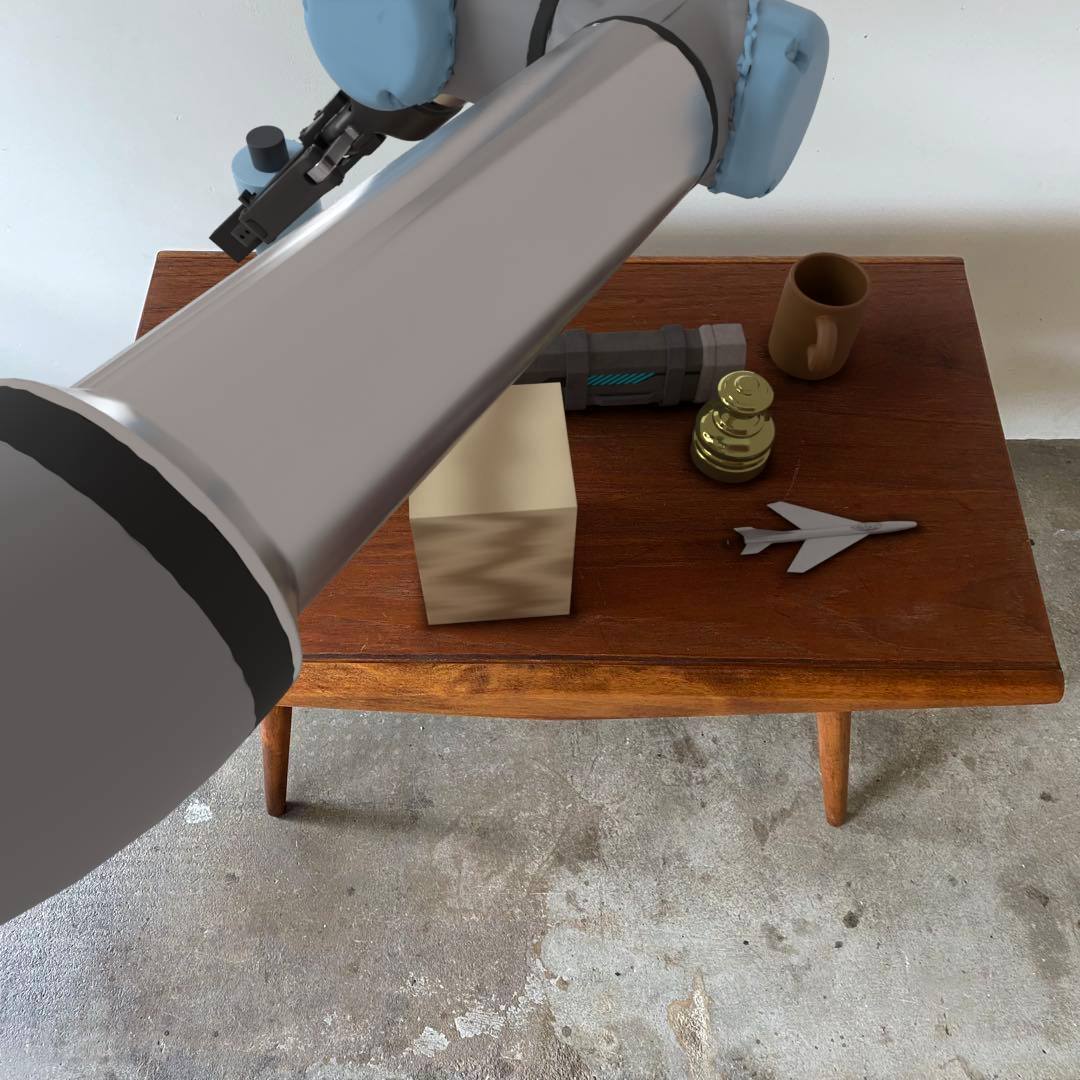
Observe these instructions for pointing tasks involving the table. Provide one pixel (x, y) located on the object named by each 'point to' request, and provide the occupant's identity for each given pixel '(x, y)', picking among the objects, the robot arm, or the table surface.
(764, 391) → the brass weight
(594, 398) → the tube
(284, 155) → the cleaner bottle
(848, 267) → the mug
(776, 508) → the toy airplane
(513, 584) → the stand
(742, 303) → the table surface
